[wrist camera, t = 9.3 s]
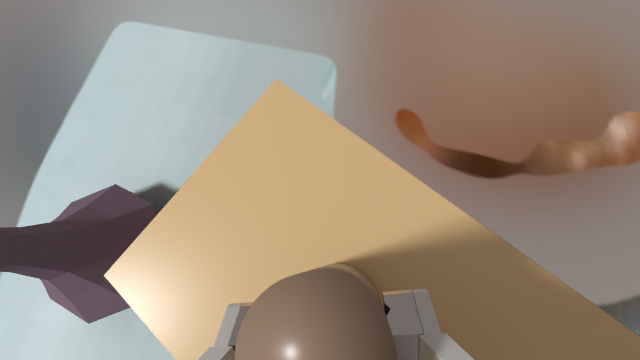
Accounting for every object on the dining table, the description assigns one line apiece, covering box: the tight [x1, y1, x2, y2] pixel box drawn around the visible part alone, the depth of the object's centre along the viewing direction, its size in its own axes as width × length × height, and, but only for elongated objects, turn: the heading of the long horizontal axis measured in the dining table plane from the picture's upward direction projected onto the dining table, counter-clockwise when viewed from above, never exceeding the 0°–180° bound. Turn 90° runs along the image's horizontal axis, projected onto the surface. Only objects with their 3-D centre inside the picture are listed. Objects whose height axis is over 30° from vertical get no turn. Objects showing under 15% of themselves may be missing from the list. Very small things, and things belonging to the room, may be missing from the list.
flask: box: [0, 184, 156, 324], centre depth 32 cm, size 16×16×20 cm
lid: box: [104, 79, 640, 360], centre depth 13 cm, size 15×22×11 cm
